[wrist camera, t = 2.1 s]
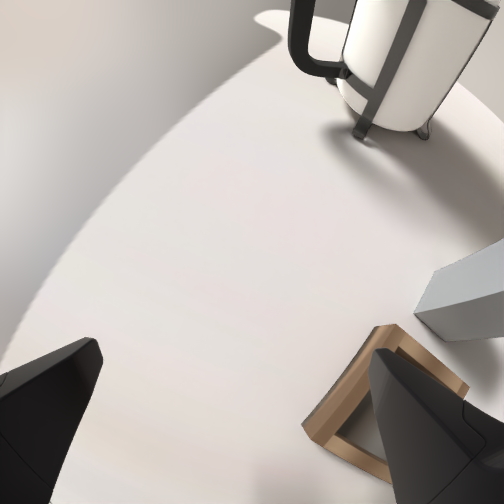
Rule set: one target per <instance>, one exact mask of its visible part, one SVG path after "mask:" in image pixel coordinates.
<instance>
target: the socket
mask: <svg viewBox="0 0 504 504" xmlns="http://www.w3.org/2000/svg"><path fill="white" fill-rule="evenodd" d="M384 347H386V348H388V349H390V350H391V351H393V352H394V353H396V354H397V355H399V356H400V357H402V358H403V359H405V360H406V361H408V362H409V363H411V364H412V365H414V366H415V367H417V368H418V369H419V370H421V371H422V372H424V373H425V374H427V375H428V376H430V377H431V378H433V379H434V380H436V381H437V382H439V383H440V384H442V385H443V386H445V387H446V388H448V389H449V390H451V391H452V392H454V393H455V394H457V395H458V396H460V397H461V398H463V399H464V397H465V396H466V394H467V392H468V390H469V388H470V387H469V386H468V385H467V384H466V383H465V382H463V381H462V380H461V379H460V378H459V377H458V376H457V375H456V374H454V373H453V372H452V371H451V370H450V369H449V368H447V367H446V366H445V365H444V364H443V363H442V362H441V361H439V360H438V359H437V358H436V357H435V356H434V355H432V354H431V353H430V352H429V351H428V350H427V349H425V348H424V347H423V346H422V345H421V344H419V343H418V342H417V341H416V340H415V339H413V338H412V337H411V336H410V335H409V334H408V333H406V332H405V331H404V330H403V329H401V328H400V327H399V326H398V325H397V324H391V325H384V326H376V327H374V329H373V330H372V332H371V333H370V335H369V336H368V338H367V339H366V341H365V342H364V344H363V345H362V347H361V348H360V350H359V351H358V352H357V354H356V355H355V357H354V358H353V359H352V361H351V362H350V364H349V365H348V366H347V368H346V369H345V370H344V372H343V373H342V374H341V376H340V377H339V378H338V380H337V381H336V382H335V384H334V385H333V386H332V388H331V389H330V390H329V391H328V393H327V394H326V395H325V396H324V398H323V399H322V400H321V401H320V403H319V404H318V405H317V406H316V407H315V409H314V410H313V411H312V412H311V413H310V415H309V416H308V417H307V418H306V419H305V420H304V421H303V423H302V424H301V425H302V427H303V428H304V430H305V431H306V433H307V435H308V436H309V438H310V439H311V440H312V441H314V442H315V443H317V444H319V445H320V446H322V447H324V448H325V449H327V450H329V451H330V452H332V453H334V454H335V455H337V456H339V457H341V458H342V459H344V460H346V461H348V462H349V463H351V464H353V465H355V466H357V467H359V468H360V469H362V470H364V471H366V472H368V473H370V474H372V475H374V476H376V477H378V478H380V479H382V480H384V481H386V482H388V483H390V484H392V480H391V476H390V471H389V467H388V463H387V459H386V455H385V451H384V447H383V444H382V440H381V436H380V432H379V429H378V425H377V422H376V418H375V413H374V407H373V401H372V395H371V389H370V383H369V377H368V368H369V364H370V360H371V356H372V353H373V350H374V349H375V348H384ZM392 485H393V484H392Z"/></svg>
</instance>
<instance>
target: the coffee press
mask: <svg viewBox="0 0 504 504" xmlns="http://www.w3.org/2000/svg"><path fill="white" fill-rule="evenodd" d="M315 1H316V0H291V9H290V18H289V28H288V49H289V53H290V55H291V57H292V59H293V62H294V63H295V65H296V66H297V67H298V68H299V69H300V70H301V71H303V72H304V73H307V74H309V75H313V76H317V77H325V78H326V80H327V82H329V83H331V84H335V83H337V85H338V88H339V91H340V93H341V95H342V97H343V98H344V100H345V101H346V102H347V104H348V105H349V106H350V107H351V108H352V109H353V110H354V111H356V112H357V113H358V114H359V115H361V117H360V119H359V120H358V122H357V124H356V126H355V128H354V130H353V132H352V134H354V135H355V136H357V137H359V138H360V139H363V138H364V136H365V135H366V133H367V131H368V130H369V128H370V126H371V124H372V123H374V124H376V125H378V126H381V127H383V128H386V129H390V130H395V131H411V130H415V129H416V131H417V134H418V136H419V137H420V138H421V139H422V140H428V139H429V137H430V134H431V125H430V119H431V118H432V116H433V115H434V113H435V112H436V111H437V109H438V108H439V106H440V105H441V103H442V102H443V100H444V99H445V97H446V96H447V94H448V93H449V91H450V90H451V88H452V87H453V85H454V84H455V82H456V81H457V79H458V78H459V76H460V75H461V73H462V72H463V70H464V68H465V67H466V65H467V64H468V62H469V61H470V59H471V57H472V55H473V54H474V52H475V51H476V49H477V47H478V46H479V44H480V42H481V41H482V39H483V37H484V36H485V34H486V32H487V31H488V29H489V26H490V25H491V23H492V21H493V19H494V18H495V16H496V14H497V12H498V11H499V9H500V7H499V6H498V5H499V3H500V1H501V0H356V2H355V6H354V10H353V14H352V18H351V21H350V25H349V29H348V32H347V36H346V39H345V43H344V47H343V49H342V53H341V57H340V60H339V62H332V61H321V60H316V59H314V58H312V57H311V56H310V55H309V54H308V42H309V36H310V30H311V24H312V18H313V12H314V7H315ZM335 78H337V79H335ZM429 116H430V117H429ZM428 118H429V120H428V123H427V130H428V134H426V133H424V132H423V131H422V130H421V126H422V125H423V124H424V123H425V122H426V120H427V119H428Z"/></svg>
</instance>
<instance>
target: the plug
mask: <svg viewBox="0 0 504 504" xmlns="http://www.w3.org/2000/svg"><path fill="white" fill-rule="evenodd" d="M413 314H414V315H416V316H417V317H418V318H419V319H420V320H421V321H422V322H424V323H425V324H426V325H427V326H428V327H429V328H430V329H432V330H433V331H434V332H435V333H436V334H437V335H438V336H439V337H441V338H442V339H443V340H444V341H445V342H450V341H465V340H477V339H488V338H498V337H504V238H503V239H502V240H500V241H498V242H496V243H494V244H492V245H490V246H488V247H486V248H484V249H482V250H480V251H478V252H476V253H474V254H472V255H470V256H467V257H465V258H463V259H461V260H459V261H457V262H455V263H452V264H450V265H448V266H446V267H444V268H441V269H439V270H437V271H435V272H434V274H433V276H432V278H431V280H430V282H429V284H428V286H427V288H426V290H425V292H424V294H423V296H422V298H421V300H420V302H419V304H418V305H417V307H416V309H415V311H414V313H413Z"/></svg>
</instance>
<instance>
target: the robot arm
mask: <svg viewBox="0 0 504 504" xmlns="http://www.w3.org/2000/svg"><path fill="white" fill-rule="evenodd" d="M102 365H103V356H102V353H101V351H100V348H99V345H98V342H97V340H96V339H94V338H89V337H84V338H82V339H80V340H78V341H76V342H73V343H71V344H69V345H67V346H64V347H62V348H60V349H58V350H56V351H53V352H51V353H49V354H47V355H44V356H42V357H40V358H38V359H36V360H33V361H31V362H29V363H27V364H24V365H22V366H20V367H18V368H15V369H13V370H11V371H9V372H6V373H4V374H2V375H0V504H49V502H50V499H51V496H52V493H53V489H54V487H55V484H56V481H57V479H58V476H59V473H60V470H61V468H62V465H63V463H64V460H65V457H66V455H67V452H68V450H69V447H70V445H71V443H72V440H73V438H74V435H75V433H76V431H77V428H78V426H79V424H80V421H81V419H82V417H83V414H84V412H85V410H86V408H87V406H88V403H89V401H90V399H91V396H92V393H93V391H94V388H95V385H96V382H97V379H98V376H99V373H100V370H101V368H102ZM368 377H369V383H370V389H371V395H372V401H373V407H374V413H375V418H376V422H377V425H378V429H379V432H380V436H381V440H382V444H383V447H384V451H385V455H386V459H387V463H388V467H389V471H390V476H391V480H392V484H393V489H394V493H395V498H396V503H397V504H504V423H503V422H501V421H499V420H497V419H495V418H493V417H491V416H490V415H488V414H486V413H484V412H483V411H481V410H480V409H478V408H476V407H475V406H473V405H472V404H470V403H469V402H467V401H466V400H464V401H463V398H461V397H460V396H458V395H457V394H455V393H454V392H452V391H451V390H449V389H448V388H446V387H445V386H443V385H442V384H440V383H439V382H437V381H436V380H434V379H433V378H431V377H430V376H428V375H427V374H425V373H424V372H422V371H421V370H419V369H418V368H417V367H415V366H414V365H412V364H411V363H409V362H408V361H406V360H405V359H403V358H402V357H400V356H399V355H397V354H396V353H394V352H393V351H391V350H390V349H388V348H386V347H384V348H375V349H374V350H373V353H372V356H371V360H370V364H369V368H368Z"/></svg>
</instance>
